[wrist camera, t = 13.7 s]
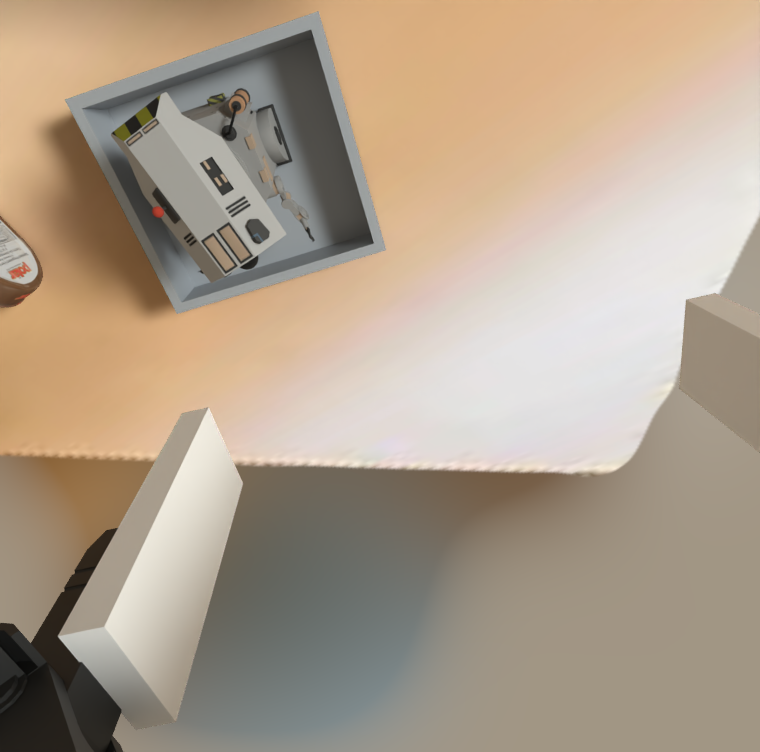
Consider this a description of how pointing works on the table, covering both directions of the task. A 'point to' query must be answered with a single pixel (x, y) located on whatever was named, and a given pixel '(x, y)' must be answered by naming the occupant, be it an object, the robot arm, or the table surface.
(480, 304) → the table surface
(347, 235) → the bin
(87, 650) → the robot arm
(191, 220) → the figurine
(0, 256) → the tin
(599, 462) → the table surface
